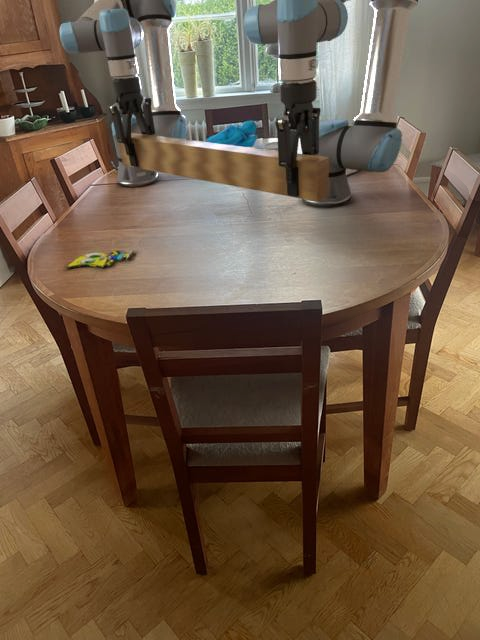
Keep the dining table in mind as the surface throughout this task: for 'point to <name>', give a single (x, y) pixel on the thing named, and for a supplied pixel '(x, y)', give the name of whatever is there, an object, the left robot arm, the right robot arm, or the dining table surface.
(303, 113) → the right robot arm
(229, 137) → the toy
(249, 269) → the dining table surface
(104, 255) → the toy
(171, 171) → the post
